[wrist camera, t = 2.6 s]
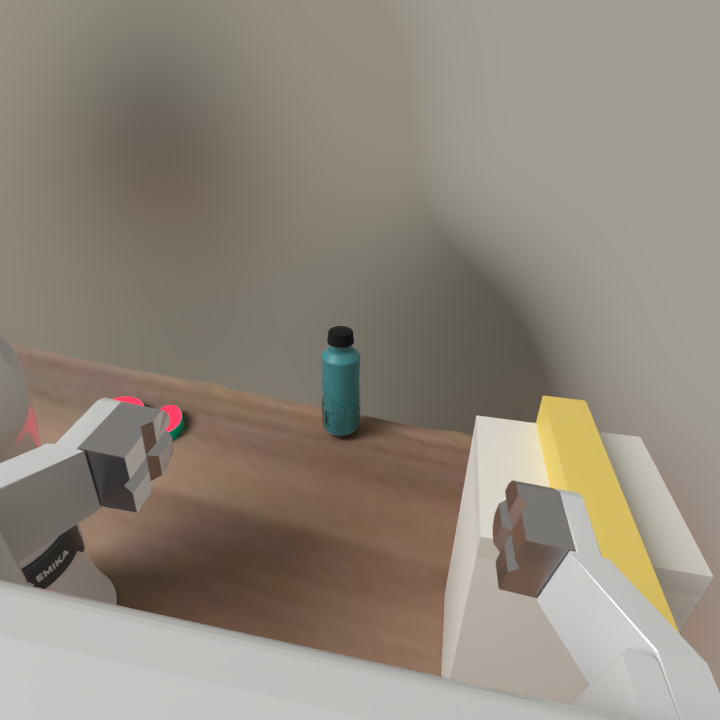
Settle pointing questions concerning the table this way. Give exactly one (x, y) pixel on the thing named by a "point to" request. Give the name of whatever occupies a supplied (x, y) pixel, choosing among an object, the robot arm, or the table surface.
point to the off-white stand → (523, 613)
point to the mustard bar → (596, 491)
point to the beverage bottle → (340, 383)
